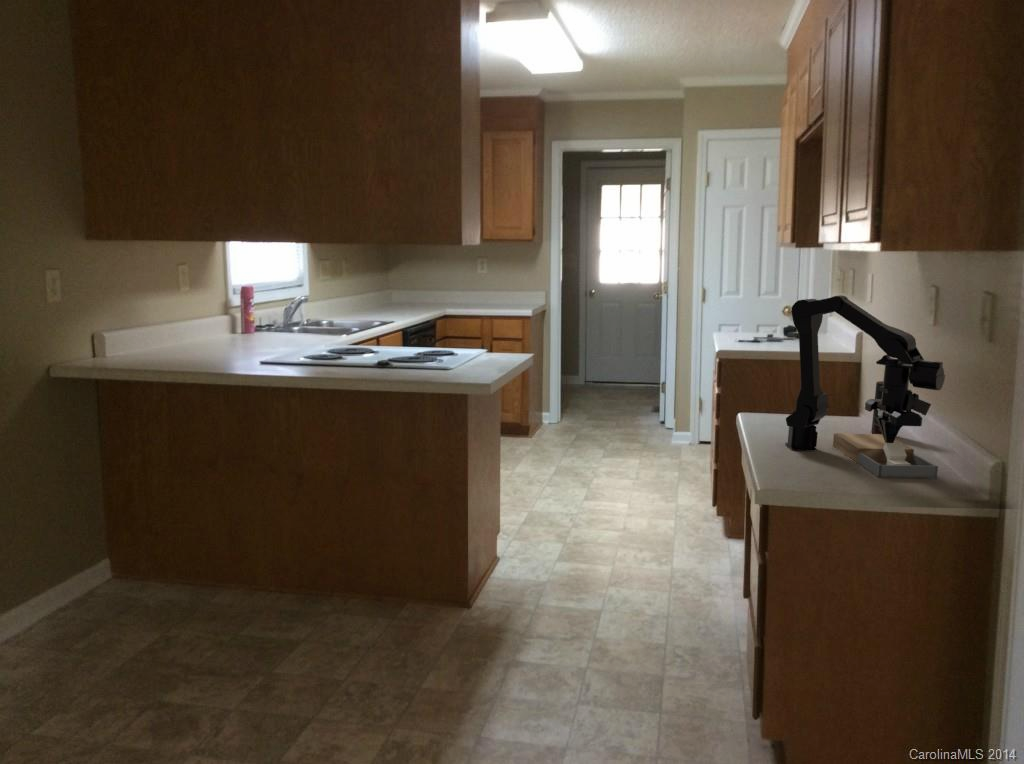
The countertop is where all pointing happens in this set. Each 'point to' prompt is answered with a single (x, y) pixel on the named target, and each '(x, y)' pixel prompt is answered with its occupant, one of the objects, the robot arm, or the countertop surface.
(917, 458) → the tray
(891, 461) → the tile
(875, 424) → the deodorant
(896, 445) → the tile
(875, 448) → the wooden block
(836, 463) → the countertop surface
